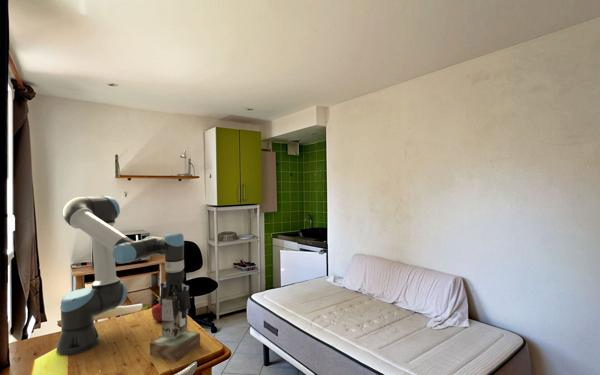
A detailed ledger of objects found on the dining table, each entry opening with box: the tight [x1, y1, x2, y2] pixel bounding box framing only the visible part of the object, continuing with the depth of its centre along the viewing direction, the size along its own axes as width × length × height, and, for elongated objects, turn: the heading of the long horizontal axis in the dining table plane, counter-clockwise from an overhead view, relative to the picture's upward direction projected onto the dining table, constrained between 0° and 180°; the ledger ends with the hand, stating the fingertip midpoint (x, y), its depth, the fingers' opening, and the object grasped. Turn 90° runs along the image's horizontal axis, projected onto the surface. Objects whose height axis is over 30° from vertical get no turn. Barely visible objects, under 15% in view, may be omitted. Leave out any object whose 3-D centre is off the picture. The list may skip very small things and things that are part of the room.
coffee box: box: [161, 293, 188, 339], centre depth 134 cm, size 9×6×16 cm
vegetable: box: [151, 298, 162, 322], centre depth 164 cm, size 11×10×10 cm
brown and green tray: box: [149, 330, 201, 362], centre depth 135 cm, size 14×14×5 cm
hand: (175, 323), depth 135 cm, fingers closed on coffee box, 7 cm apart
